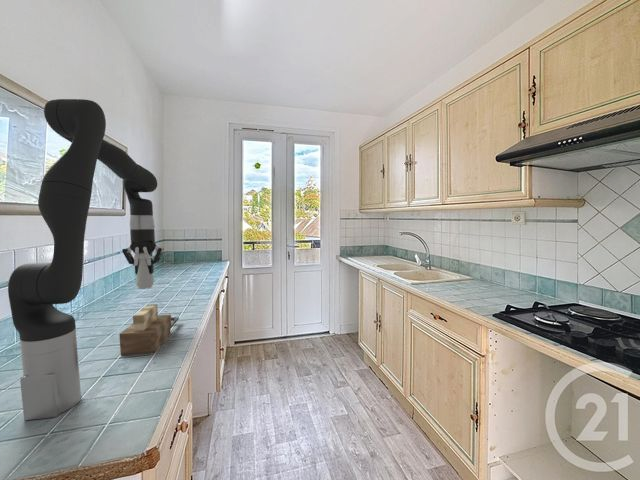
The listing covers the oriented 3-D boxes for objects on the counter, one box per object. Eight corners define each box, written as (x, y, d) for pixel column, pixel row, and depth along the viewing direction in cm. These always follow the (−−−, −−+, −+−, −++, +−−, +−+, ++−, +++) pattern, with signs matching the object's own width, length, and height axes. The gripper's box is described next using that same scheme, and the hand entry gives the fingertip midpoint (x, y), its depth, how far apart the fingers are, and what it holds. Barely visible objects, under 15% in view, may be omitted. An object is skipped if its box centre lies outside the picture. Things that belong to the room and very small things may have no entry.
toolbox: (155, 352, 93) (154, 334, 93) (120, 355, 92) (119, 336, 91) (170, 334, 108) (169, 318, 107) (141, 336, 106) (140, 320, 106)
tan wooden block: (154, 346, 93) (153, 316, 92) (120, 349, 91) (118, 318, 91) (178, 319, 118) (177, 295, 117) (152, 321, 116) (150, 296, 115)
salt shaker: (145, 289, 103) (143, 253, 102) (132, 289, 104) (130, 253, 104) (158, 286, 109) (156, 251, 108) (145, 285, 110) (143, 251, 109)
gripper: (115, 228, 100) (118, 278, 101) (159, 228, 103) (161, 276, 104) (126, 228, 108) (128, 274, 109) (166, 227, 110) (168, 273, 111)
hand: (144, 275), depth 106 cm, fingers closed on salt shaker, 3 cm apart
